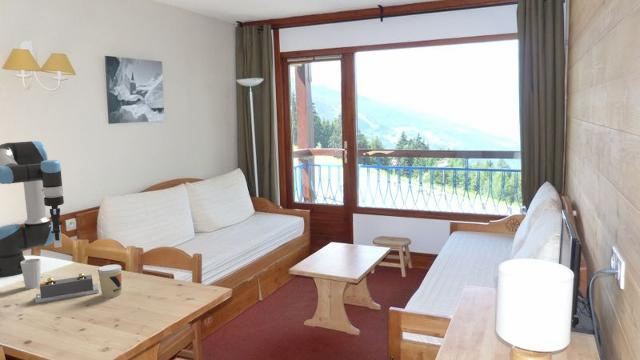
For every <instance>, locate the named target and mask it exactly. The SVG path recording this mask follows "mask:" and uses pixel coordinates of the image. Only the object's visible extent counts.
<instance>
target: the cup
mask: <svg viewBox="0 0 640 360" xmlns="http://www.w3.org/2000/svg"><path fill="white" fill-rule="evenodd" d="M41 261H42V260H41V258H29V259H25V260H24V261H22V262H20V263H21V268H22V272H23V273H22V276H23V280H24V286H25V287H24V288H25V289H27V290H33V289H37V288H40V283H41V282H42V277H41V276H42V274H41V271H42V270H41V268H42V267H41V265H42V264H41Z"/></svg>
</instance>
